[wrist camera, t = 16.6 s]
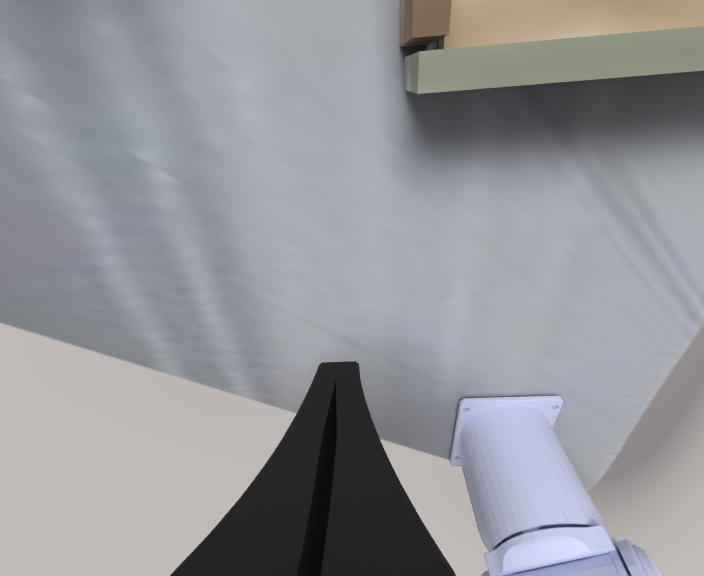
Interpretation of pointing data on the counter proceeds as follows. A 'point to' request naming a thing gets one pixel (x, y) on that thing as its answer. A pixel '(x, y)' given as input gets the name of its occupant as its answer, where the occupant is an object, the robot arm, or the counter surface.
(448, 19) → the dock
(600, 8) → the tray
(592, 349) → the counter surface
